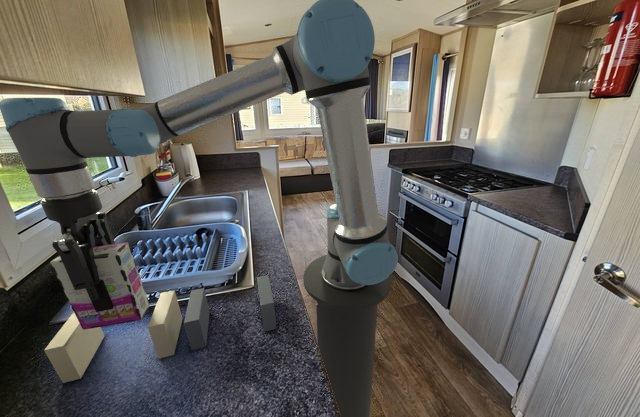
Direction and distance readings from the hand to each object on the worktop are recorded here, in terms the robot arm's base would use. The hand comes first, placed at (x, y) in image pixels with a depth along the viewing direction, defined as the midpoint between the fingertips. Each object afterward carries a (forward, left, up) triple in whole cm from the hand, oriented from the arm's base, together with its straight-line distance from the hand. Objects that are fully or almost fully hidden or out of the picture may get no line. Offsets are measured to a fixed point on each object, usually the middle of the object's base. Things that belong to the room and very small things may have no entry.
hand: (111, 299), depth 54 cm
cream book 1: (+8, 0, -13) cm, 16 cm away
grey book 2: (-31, 0, -13) cm, 34 cm away
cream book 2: (-9, 0, -13) cm, 16 cm away
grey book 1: (-15, 0, -13) cm, 20 cm away
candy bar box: (0, 0, -5) cm, 5 cm away
